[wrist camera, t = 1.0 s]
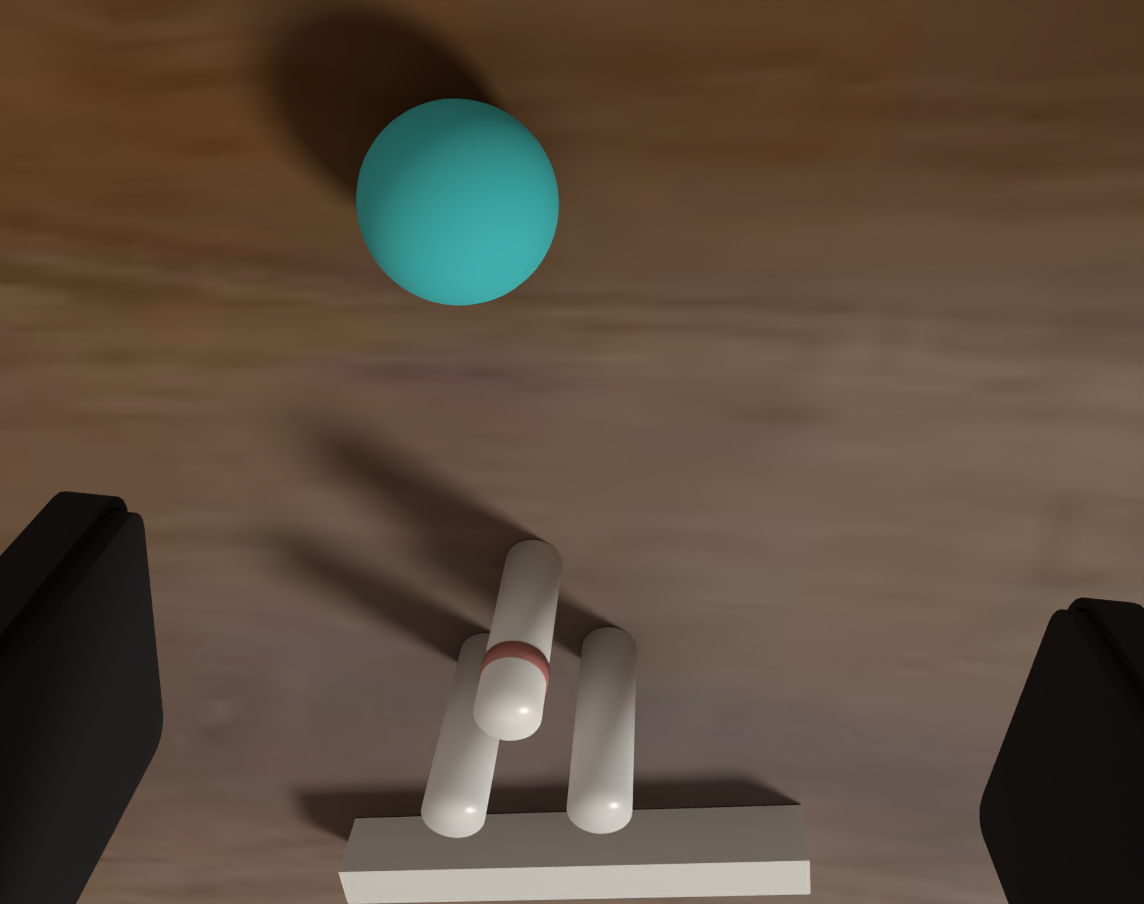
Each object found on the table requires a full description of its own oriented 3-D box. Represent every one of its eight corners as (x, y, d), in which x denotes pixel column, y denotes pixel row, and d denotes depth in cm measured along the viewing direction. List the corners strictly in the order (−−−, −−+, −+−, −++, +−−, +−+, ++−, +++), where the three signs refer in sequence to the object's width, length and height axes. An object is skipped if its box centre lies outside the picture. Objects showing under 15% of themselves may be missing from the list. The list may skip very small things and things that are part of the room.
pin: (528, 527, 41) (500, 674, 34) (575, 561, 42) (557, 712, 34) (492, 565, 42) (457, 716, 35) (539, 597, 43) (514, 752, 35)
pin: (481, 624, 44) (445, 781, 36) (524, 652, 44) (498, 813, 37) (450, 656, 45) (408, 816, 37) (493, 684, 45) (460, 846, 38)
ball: (451, 39, 33) (412, 73, 28) (604, 165, 35) (594, 219, 29) (346, 191, 36) (292, 247, 30) (492, 302, 37) (465, 375, 32)
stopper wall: (355, 818, 49) (338, 872, 47) (801, 805, 47) (809, 860, 44) (364, 849, 50) (347, 903, 48) (801, 837, 48) (810, 894, 45)
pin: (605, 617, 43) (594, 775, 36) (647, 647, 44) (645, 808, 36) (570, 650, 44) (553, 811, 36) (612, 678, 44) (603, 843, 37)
